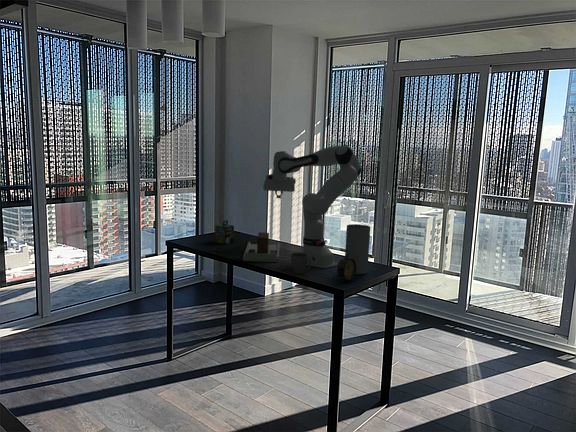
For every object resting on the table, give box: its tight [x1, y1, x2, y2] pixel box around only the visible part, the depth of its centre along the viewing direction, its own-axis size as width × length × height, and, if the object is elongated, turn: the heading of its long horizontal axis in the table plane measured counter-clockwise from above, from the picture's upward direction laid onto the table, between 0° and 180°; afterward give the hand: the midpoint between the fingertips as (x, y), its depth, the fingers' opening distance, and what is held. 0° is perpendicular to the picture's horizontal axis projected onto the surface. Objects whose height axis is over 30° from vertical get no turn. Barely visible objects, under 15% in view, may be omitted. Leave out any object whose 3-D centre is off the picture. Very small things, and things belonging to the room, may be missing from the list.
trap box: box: [242, 241, 281, 263], centre depth 294 cm, size 36×20×4 cm, turn 0°
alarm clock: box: [336, 250, 356, 284], centre depth 243 cm, size 11×5×16 cm, turn 138°
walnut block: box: [256, 232, 270, 254], centre depth 285 cm, size 14×6×12 cm, turn 0°
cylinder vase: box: [344, 223, 371, 275], centre depth 261 cm, size 12×12×25 cm
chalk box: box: [214, 219, 235, 245], centre depth 320 cm, size 9×9×15 cm
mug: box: [290, 252, 312, 275], centre depth 256 cm, size 12×9×10 cm
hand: (278, 198), depth 313 cm, fingers closed
